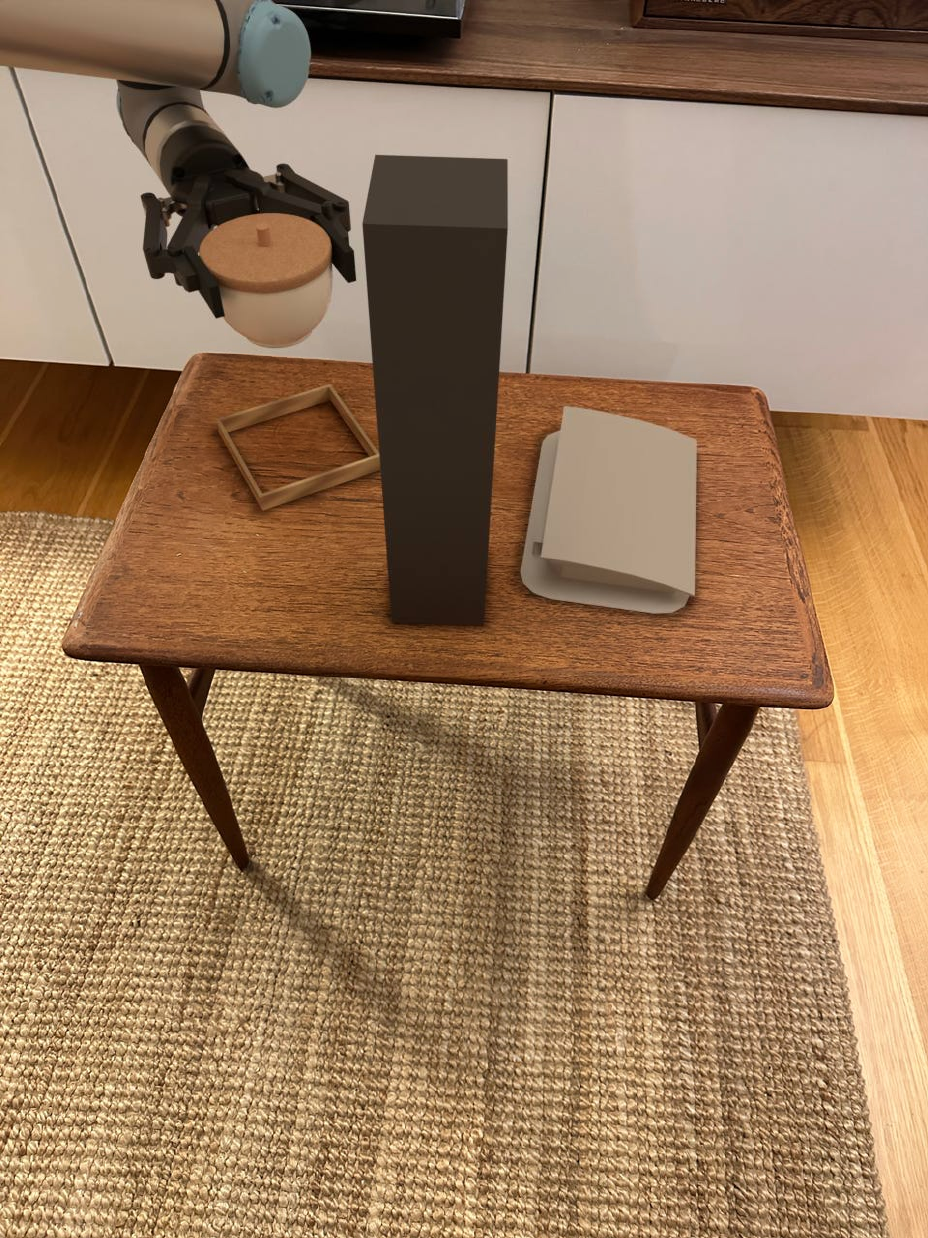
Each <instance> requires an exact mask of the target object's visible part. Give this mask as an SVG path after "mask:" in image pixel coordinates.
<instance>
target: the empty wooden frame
mask: <svg viewBox="0 0 928 1238" xmlns="http://www.w3.org/2000/svg"><path fill="white" fill-rule="evenodd" d="M326 402H331V404H332V405H333V407H335V409H336V410H337V412H338V413H339V416H340V417H341V418H342V419H343V422H345V424H346V425H347V427H348V428H349V429H350V431H351V433H352V434H353V435H354V437H355V438H356V440H357V441H358V442H359V444H360V445H361V446H362V448H363V450H364V451H365V453H366V454H367V455H368V457H365V458H363V459H359V460H356V461H354V462H350V463H348V464H345V465H342V466H339V467H336V468H333V469H331V470H327V471H324V472H321V473H318V474H316V475H313V476H310V477H307V478H304V479H301V480H297V481H295V482H292V483H289V484H287V485H284V486H281V487H277V488H274V489H271V490H268V491H265V492H262V491H261V488H260V487H259V486H258V484H257V482H256V480H255V478H254V476H253V475H252V473H251V471H250V469H249V468H248V466H247V464H246V462H245V460H244V459H243V457H242V456H241V454H240V452H239V451H238V449H237V447H236V445H235V442H233V440H232V438H231V436H230V434H229V433H231V432H234V431H238V430H240V429H244V428H247V427H250V426H254V425H257V424H259V423H264V422H266V421H269V420H273V419H276V418H278V417H282V416H285V415H289V414H292V413H295V412H297V411H301V410H305V409H307V408H310V407H313V406H317V405H321V404H324V403H326ZM215 422H216V426H217V430H218V434H219V436H220V437H221V439H222V441H223V443H224V444H225V446H226V448H227V450H228V451H229V454H230V456H231V457H232V459H233V461H234V462H235V464H236V466H237V468H238V470H239V472H240V473H241V475H242V477H243V478H244V480H245V483H246V484H247V486H248V487H249V490H250V491H251V493H252V495H253V497H254V498H255V500H256V502H257V503H258V505H259V507H260V509H261V511H267V510H269V509H271V508H275V507H278V506H280V505H283V504H286V503H290V502H292V501H295V500H298V499H301V498H304V497H307V496H309V495H312V494H315V493H318V492H321V491H324V490H327V489H329V488H332V487H336V486H338V485H341V484H344V483H347V482H349V481H353V480H355V479H359V478H362V477H365V476H367V475H370V474H373V473H376V472H379V471H380V457H379V449H377V448H376V446H375V445H374V443H373V442H372V440H371V439H370V438H369V436H368V434H367V433H366V432H365V430H364V429H363V427H362V426H361V425H360V423H359V422H358V421H357V419H356V417H355V415H354V414H353V413H352V411H350V409H349V407H347V405H346V403H345V401H344V400H343V399H342V398H341V397H340V395H339V394H338V392H337V391H336V390H335V388H334V387H333V385H332V384H331V383H329V384H328V383H327V384H325V385H322V386H318V387H315V388H313V389H310V390H305V391H303V392H299V393H296V394H292V395H290V396H287V397H283V398H280V399H277V400H274V401H269V402H267V403H264V404H261V405H257V406H254V407H251V408H248V409H244V410H241V411H237V412H234V413H232V414H228V415H225V416H222V417H218V418H216V419H215Z"/></svg>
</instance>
